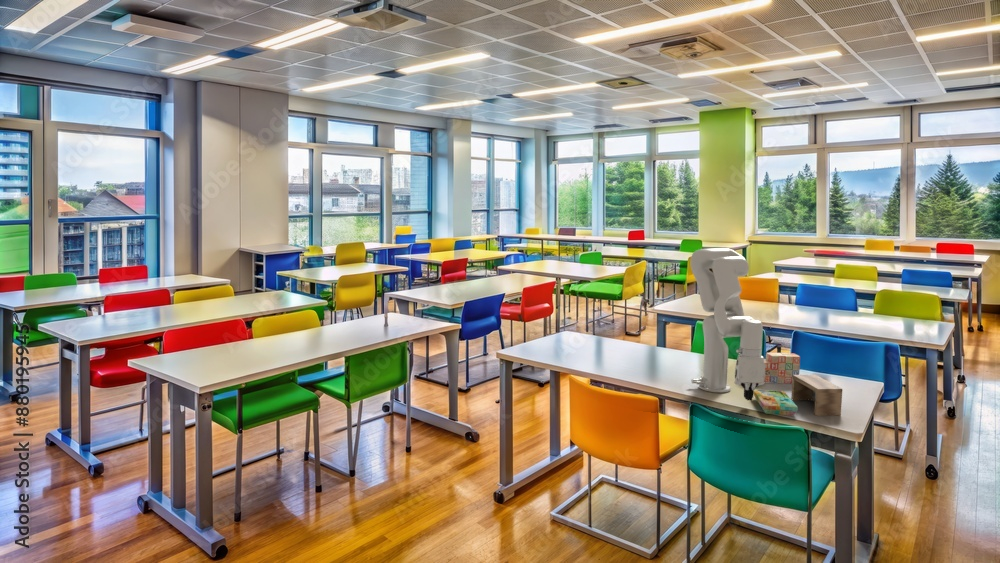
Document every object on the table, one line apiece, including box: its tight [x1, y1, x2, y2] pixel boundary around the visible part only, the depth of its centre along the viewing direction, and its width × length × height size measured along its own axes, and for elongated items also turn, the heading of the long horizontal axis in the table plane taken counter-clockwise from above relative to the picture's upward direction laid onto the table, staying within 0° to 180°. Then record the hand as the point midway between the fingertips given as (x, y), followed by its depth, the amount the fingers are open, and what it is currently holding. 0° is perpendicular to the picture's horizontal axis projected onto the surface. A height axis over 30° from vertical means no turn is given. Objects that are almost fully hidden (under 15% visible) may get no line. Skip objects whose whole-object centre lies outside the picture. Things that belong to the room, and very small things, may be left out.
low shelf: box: [790, 374, 843, 416], centre depth 230 cm, size 9×19×10 cm, turn 0°
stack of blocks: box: [764, 352, 801, 384], centre depth 265 cm, size 21×6×12 cm, turn 86°
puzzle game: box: [753, 389, 799, 416], centre depth 231 cm, size 12×5×20 cm
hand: (748, 399), depth 230 cm, fingers closed
